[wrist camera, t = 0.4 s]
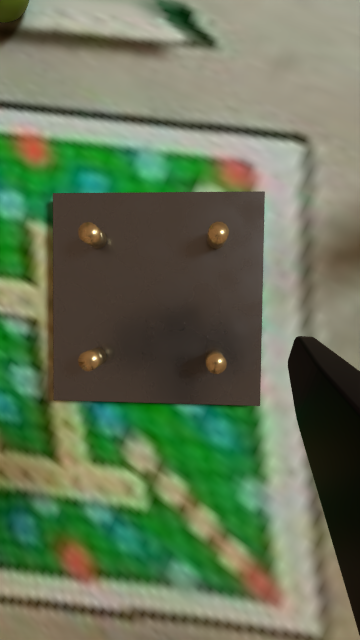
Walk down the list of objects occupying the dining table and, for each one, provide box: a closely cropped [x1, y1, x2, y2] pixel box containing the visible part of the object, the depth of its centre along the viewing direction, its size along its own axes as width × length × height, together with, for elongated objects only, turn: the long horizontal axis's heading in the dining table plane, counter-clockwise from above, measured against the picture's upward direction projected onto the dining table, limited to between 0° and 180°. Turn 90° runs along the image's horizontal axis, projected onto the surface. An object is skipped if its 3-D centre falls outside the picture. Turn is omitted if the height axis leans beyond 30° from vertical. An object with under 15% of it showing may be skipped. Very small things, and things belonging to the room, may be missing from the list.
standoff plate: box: [53, 192, 265, 406], centre depth 21 cm, size 16×16×3 cm
